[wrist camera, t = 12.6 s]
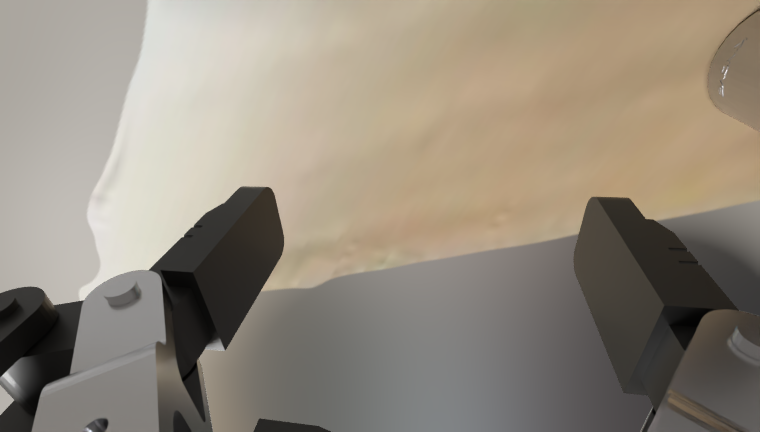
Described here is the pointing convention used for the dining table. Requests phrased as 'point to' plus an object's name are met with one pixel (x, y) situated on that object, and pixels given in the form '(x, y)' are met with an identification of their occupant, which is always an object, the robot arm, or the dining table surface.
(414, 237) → the dining table surface
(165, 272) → the robot arm
